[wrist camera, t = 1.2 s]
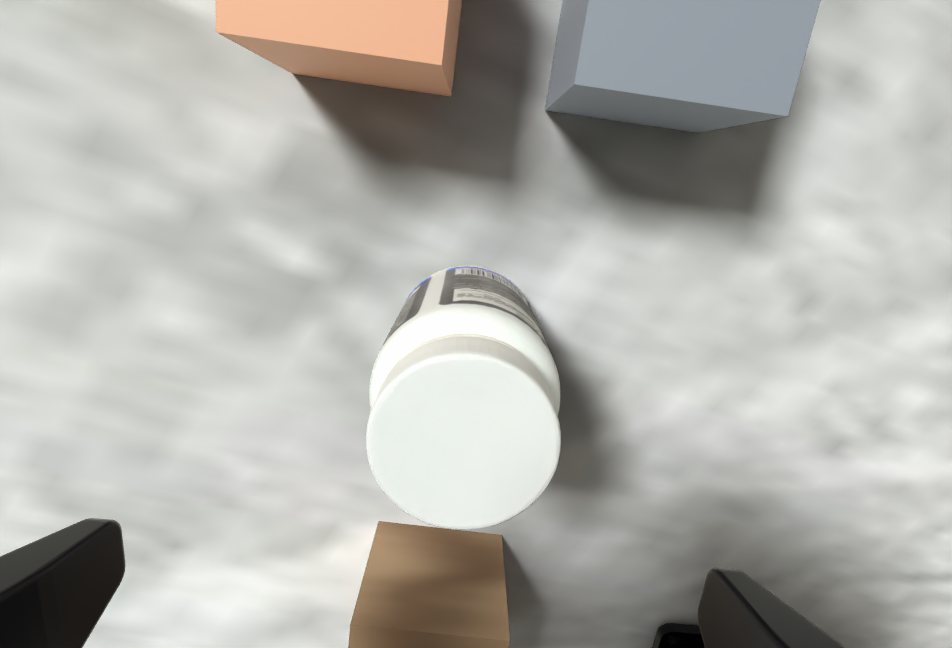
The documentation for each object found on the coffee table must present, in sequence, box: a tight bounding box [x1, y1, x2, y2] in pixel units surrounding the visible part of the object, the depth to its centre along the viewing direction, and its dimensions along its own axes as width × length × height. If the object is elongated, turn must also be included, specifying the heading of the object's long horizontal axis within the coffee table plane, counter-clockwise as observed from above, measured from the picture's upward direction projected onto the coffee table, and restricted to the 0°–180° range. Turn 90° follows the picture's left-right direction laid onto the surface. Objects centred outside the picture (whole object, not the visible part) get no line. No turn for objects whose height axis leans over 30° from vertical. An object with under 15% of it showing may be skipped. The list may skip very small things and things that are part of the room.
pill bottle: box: [366, 265, 561, 529], centre depth 14 cm, size 5×5×8 cm
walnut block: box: [348, 521, 510, 648], centre depth 19 cm, size 5×5×5 cm
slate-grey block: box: [545, 0, 821, 133], centre depth 13 cm, size 5×5×5 cm
